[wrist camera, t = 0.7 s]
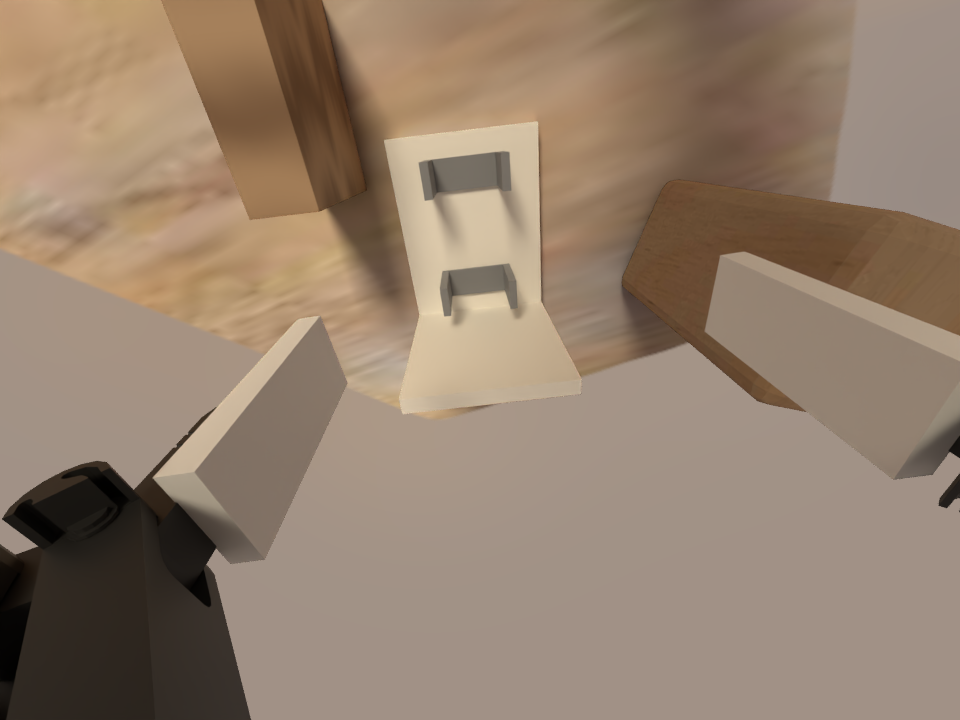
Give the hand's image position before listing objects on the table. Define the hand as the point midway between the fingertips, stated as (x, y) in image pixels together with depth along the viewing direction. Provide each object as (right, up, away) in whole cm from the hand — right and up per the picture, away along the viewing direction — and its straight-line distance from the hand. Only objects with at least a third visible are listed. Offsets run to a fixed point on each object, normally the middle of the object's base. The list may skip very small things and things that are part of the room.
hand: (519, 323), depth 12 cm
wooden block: (+18, +10, +22) cm, 30 cm away
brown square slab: (-14, +18, +16) cm, 28 cm away
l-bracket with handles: (-2, +11, +20) cm, 23 cm away
